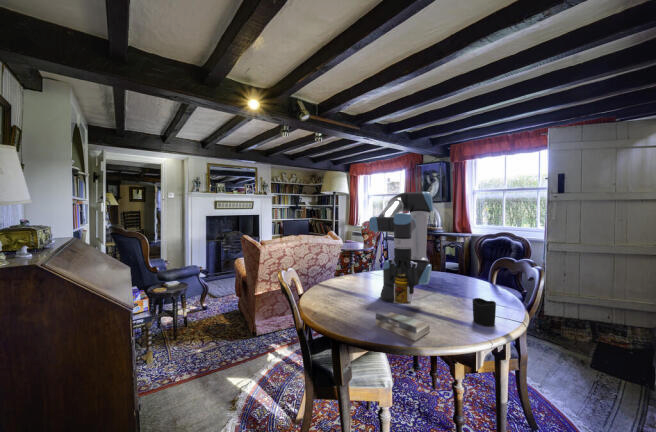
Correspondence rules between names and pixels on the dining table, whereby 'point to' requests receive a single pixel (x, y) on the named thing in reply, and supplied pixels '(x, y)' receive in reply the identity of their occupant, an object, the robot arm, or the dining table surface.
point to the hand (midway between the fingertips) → (402, 298)
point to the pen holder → (484, 312)
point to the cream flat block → (402, 325)
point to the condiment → (401, 289)
